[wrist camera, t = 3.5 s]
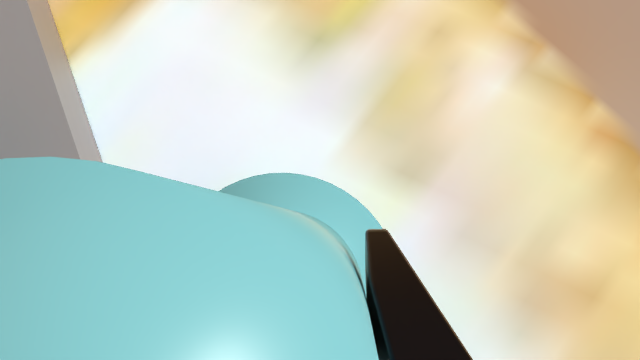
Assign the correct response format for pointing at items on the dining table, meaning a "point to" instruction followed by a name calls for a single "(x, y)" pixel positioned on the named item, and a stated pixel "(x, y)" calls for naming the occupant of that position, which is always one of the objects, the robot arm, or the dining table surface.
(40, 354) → the teal plastic cylinder
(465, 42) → the dining table surface
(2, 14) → the grey stepped base
